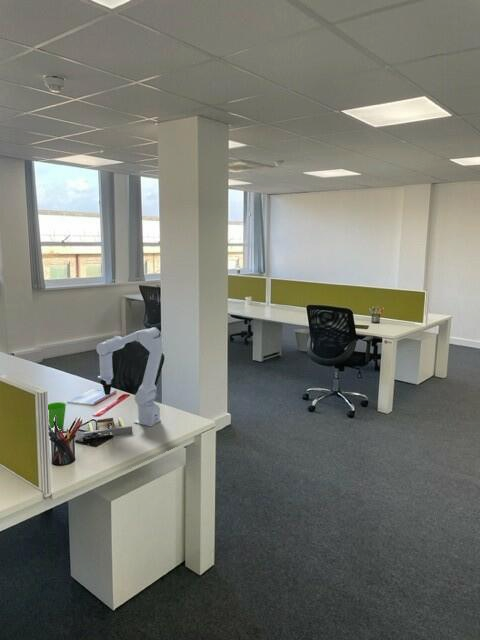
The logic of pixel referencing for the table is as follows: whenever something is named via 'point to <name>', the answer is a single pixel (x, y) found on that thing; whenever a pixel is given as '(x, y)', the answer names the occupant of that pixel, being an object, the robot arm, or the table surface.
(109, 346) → the robot arm
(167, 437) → the table surface
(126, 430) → the bay
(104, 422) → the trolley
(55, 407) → the cup
